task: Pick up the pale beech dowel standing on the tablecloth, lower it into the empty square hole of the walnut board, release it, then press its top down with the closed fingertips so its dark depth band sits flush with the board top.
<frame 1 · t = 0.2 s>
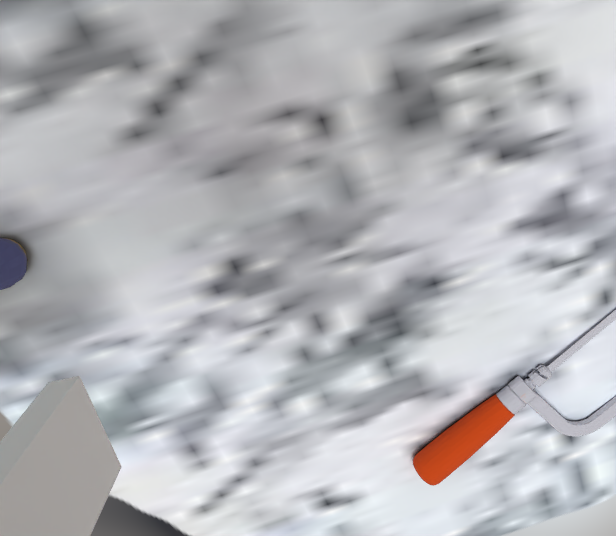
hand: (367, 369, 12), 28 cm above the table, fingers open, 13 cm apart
hand saw: (576, 373, 45), on the table
rubber mallet: (11, 254, 40), on the table
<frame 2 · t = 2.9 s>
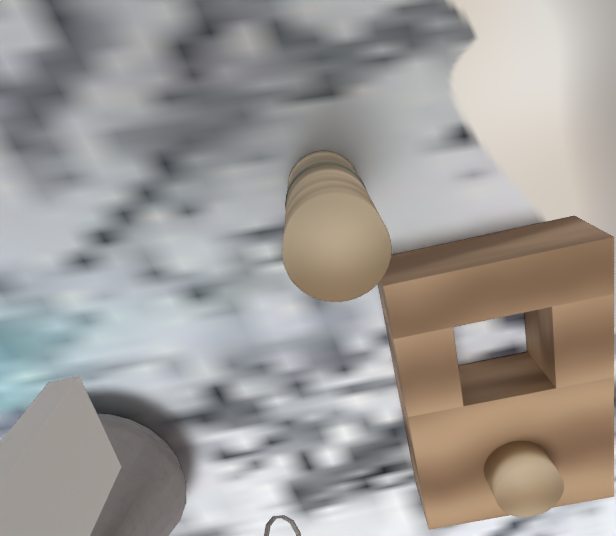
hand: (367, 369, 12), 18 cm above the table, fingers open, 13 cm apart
coffee pot: (167, 425, 35), on the table
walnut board: (486, 364, 33), on the table
beech dowel: (323, 186, 29), on the table
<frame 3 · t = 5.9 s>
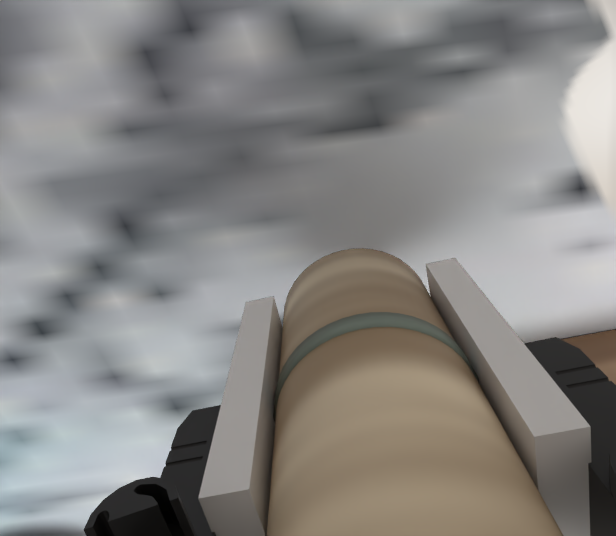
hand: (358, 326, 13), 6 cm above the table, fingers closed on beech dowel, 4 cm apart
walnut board: (588, 505, 23), on the table
beech dowel: (356, 317, 14), point 6 cm above the table, touching gripper
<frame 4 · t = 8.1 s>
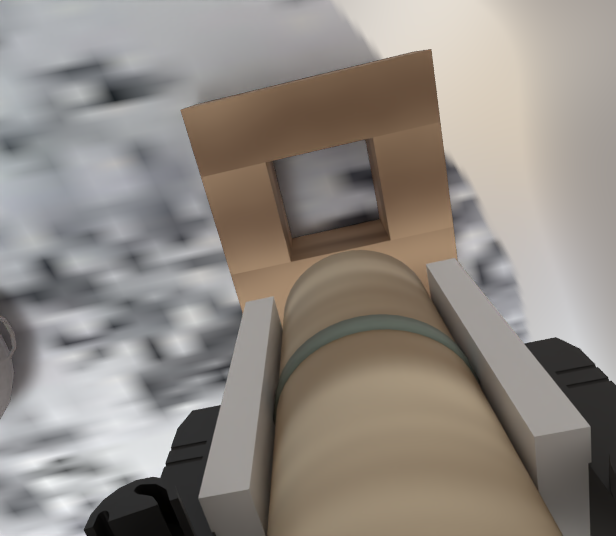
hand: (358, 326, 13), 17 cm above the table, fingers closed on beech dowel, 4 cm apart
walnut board: (336, 233, 31), on the table
beech dowel: (357, 319, 14), point 17 cm above the table, touching gripper
when the fingers open (5 cm above the table, at t = 10.7 s): beech dowel drops 5 cm, resting in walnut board.
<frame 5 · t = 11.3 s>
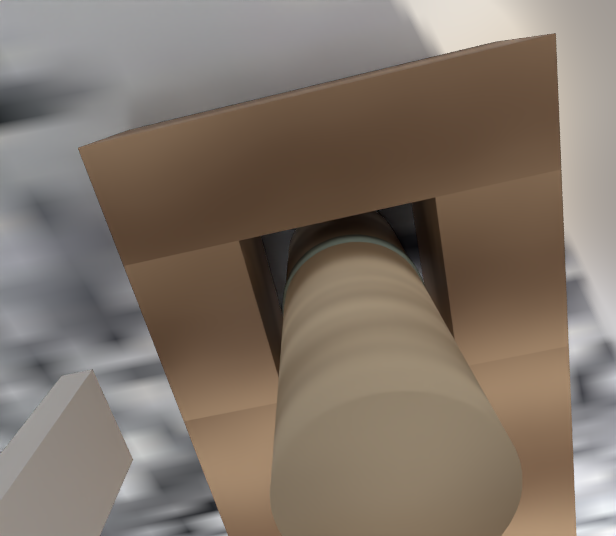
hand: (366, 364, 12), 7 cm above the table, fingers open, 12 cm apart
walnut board: (359, 330, 19), on the table
beech dowel: (343, 256, 18), resting in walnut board
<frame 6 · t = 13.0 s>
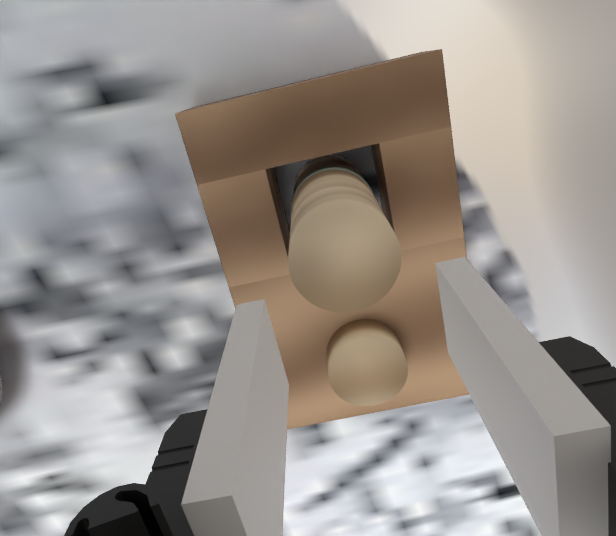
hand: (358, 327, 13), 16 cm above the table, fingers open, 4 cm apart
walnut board: (340, 242, 29), on the table
beech dowel: (329, 191, 28), resting in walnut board
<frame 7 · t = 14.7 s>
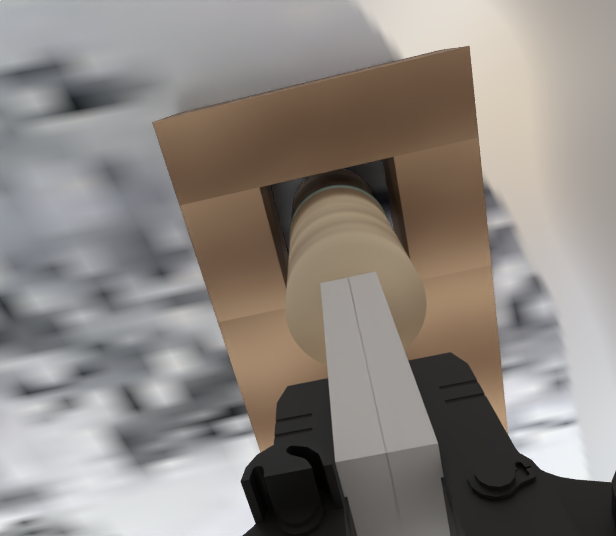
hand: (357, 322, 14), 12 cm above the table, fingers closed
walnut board: (345, 266, 26), on the table
beech dowel: (333, 209, 25), resting in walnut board
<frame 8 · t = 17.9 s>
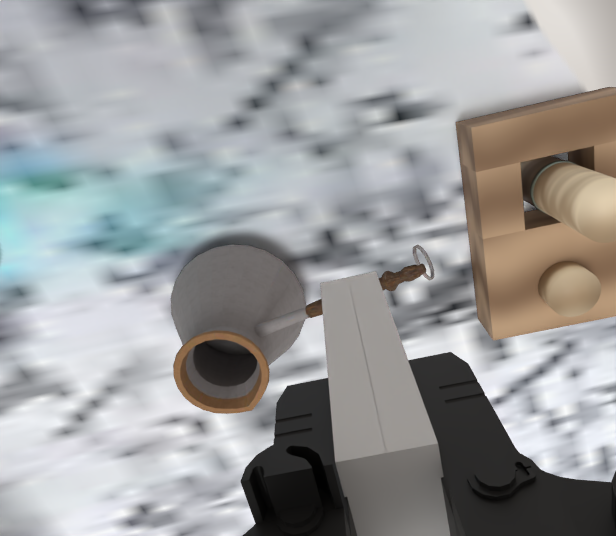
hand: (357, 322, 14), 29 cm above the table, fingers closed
coffee pot: (287, 265, 45), on the table
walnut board: (537, 212, 43), on the table
beech dowel: (535, 177, 42), resting in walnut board
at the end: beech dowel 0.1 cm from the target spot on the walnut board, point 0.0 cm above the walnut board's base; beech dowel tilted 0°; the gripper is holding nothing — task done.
